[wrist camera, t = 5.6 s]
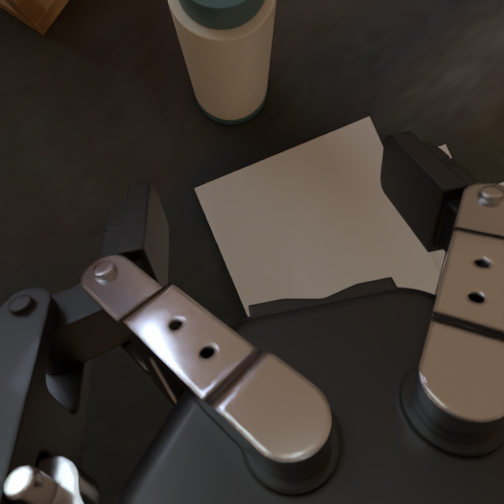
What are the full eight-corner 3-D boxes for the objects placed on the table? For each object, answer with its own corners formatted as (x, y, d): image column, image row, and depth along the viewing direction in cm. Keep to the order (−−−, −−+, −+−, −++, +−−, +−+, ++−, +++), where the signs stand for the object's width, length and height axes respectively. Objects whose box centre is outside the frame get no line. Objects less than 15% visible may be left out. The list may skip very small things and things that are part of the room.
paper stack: (479, 72, 29) (485, 67, 28) (620, 379, 28) (630, 382, 27) (195, 190, 28) (194, 188, 28) (329, 510, 27) (331, 516, 27)
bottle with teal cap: (240, 139, 29) (236, 44, 17) (180, 99, 29) (132, -24, 17) (281, 80, 29) (305, -55, 17) (220, 40, 29) (202, -122, 17)
